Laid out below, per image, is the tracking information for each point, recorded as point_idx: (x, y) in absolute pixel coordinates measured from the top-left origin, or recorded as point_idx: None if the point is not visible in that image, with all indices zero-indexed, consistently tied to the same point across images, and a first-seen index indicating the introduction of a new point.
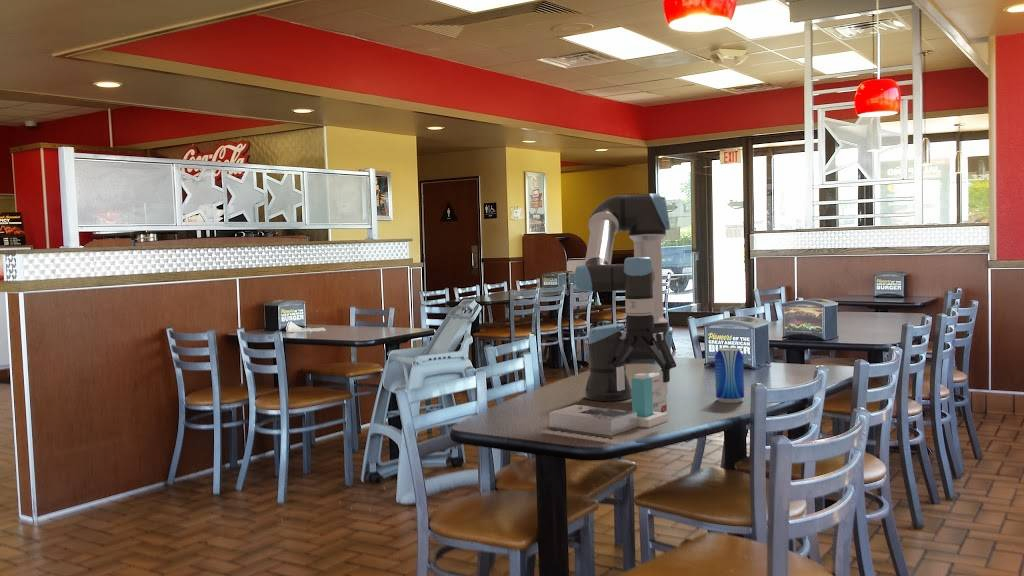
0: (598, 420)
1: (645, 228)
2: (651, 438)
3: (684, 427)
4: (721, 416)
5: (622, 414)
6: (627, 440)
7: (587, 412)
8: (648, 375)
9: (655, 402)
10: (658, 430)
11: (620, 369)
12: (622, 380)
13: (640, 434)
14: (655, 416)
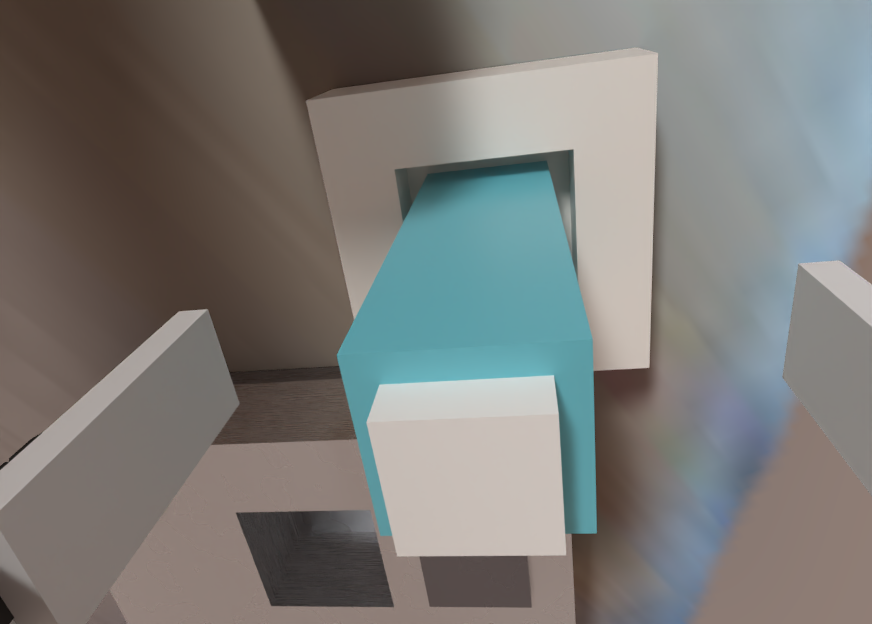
0: None
1: None
2: (749, 455)
3: (824, 67)
4: None
5: None
6: (649, 540)
7: (251, 525)
8: (555, 402)
9: None
10: (679, 273)
11: (76, 570)
12: (161, 411)
13: (634, 415)
14: (628, 243)
